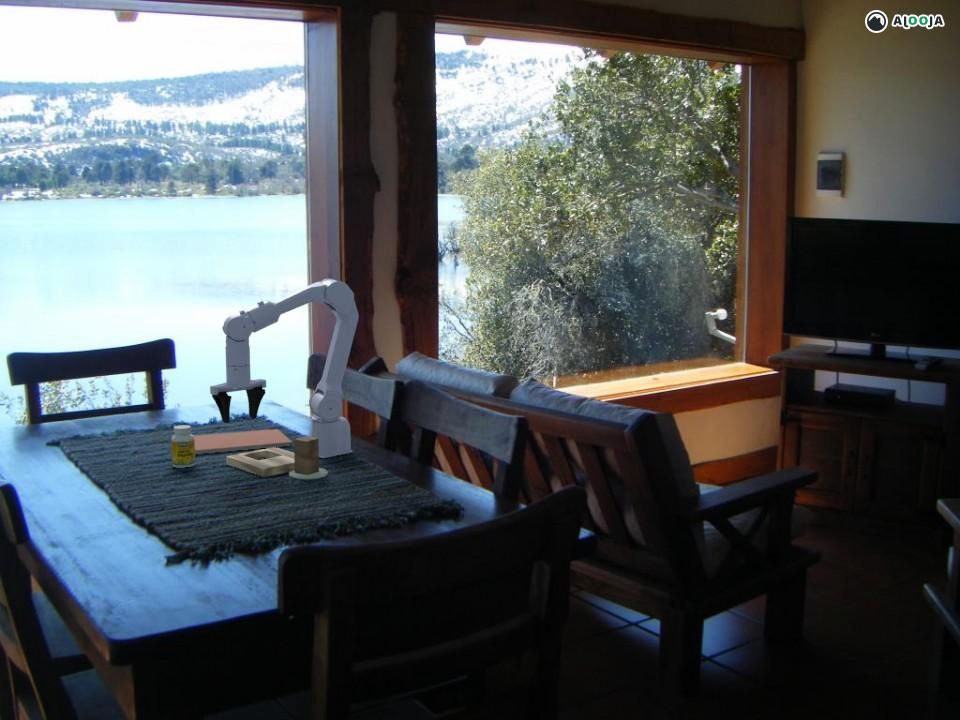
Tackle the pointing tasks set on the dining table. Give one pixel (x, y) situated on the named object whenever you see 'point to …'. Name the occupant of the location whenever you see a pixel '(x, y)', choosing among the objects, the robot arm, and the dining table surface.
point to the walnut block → (306, 455)
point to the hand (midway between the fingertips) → (239, 420)
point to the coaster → (311, 476)
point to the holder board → (263, 461)
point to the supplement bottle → (183, 447)
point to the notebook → (240, 441)
